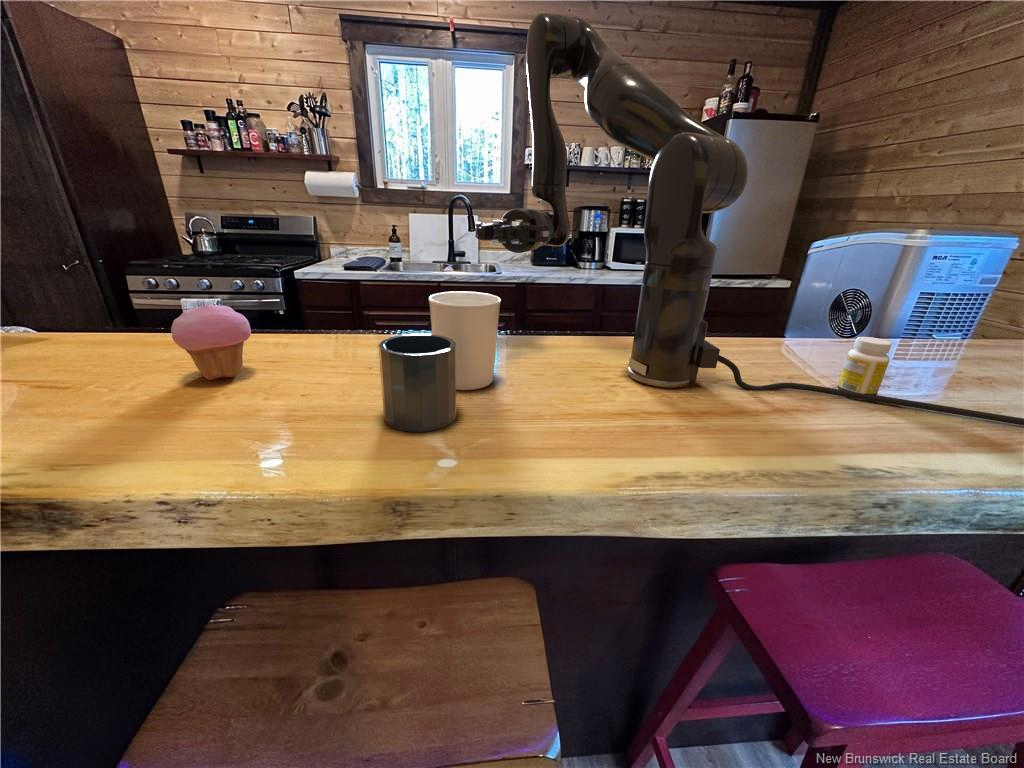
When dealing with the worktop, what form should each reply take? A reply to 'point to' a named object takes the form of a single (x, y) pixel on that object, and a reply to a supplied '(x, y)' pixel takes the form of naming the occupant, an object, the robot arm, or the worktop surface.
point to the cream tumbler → (468, 333)
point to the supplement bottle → (865, 366)
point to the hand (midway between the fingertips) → (492, 233)
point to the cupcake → (213, 339)
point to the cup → (418, 381)
